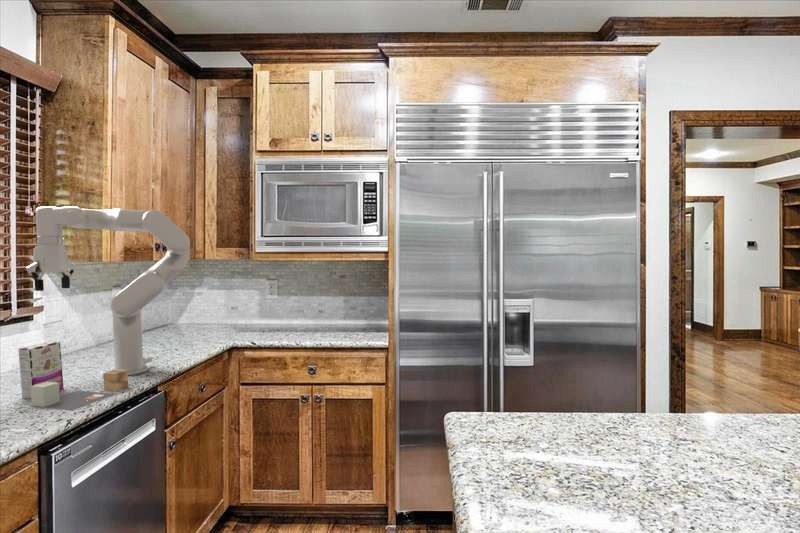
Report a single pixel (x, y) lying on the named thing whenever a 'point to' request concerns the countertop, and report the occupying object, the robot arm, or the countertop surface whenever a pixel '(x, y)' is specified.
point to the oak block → (115, 380)
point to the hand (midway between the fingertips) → (53, 289)
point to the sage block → (45, 394)
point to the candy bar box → (40, 366)
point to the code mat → (77, 400)
